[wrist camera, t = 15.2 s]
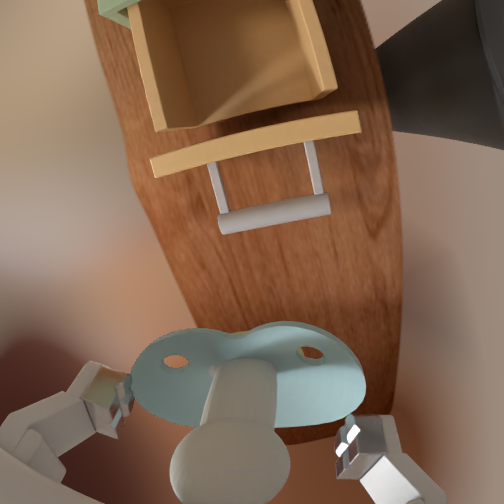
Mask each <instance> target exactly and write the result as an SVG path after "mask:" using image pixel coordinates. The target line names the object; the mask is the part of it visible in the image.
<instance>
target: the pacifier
mask: <svg viewBox="0 0 504 504" xmlns="http://www.w3.org/2000/svg"><path fill="white" fill-rule="evenodd" d="M302 346H310V347H314V348H316V349H318V350H320V351H321V352H322V353H323V354H324V356H323V357H322V358H320V359H312V358H308V357H304V354H303V351H302V349H301V348H300V347H302ZM171 355H180V356H183V357H185V358H186V359H187V360H188V362H189V363H188V365H186V366H184V367H180V368H172V367H169V366H167V365H166V364H165V363H164V361H163V359H164V358H166V357H168V356H171ZM131 376H132V381H133V382H132V384H131V386H130V388H131V390H132V391H133V396H134V397H135V398H136V400H137V401H138V403H139V404H140V405H141V406H142V407H143V408H144V409H145V410H147V411H149V412H151V413H152V414H153V415H155V416H157V417H160V418H162V419H164V420H167V421H169V422H172V423H174V424H181V425H185V426H191V427H197V428H196V429H194V430H192V431H191V432H190V433H189V434H187V435H186V437H185V438H184V439H183V440H182V441H181V442H180V443H179V445H178V446H177V448H176V450H175V452H174V454H173V456H172V459H171V464H170V480H171V484H172V487H173V490H174V492H175V494H176V495H177V497H178V499H179V500H180V501H181V502H182V503H183V504H266V503H267V502H269V501H270V500H271V499H272V498H273V497H274V496H275V495H276V494H278V493H279V491H280V490H281V488H282V487H283V486H284V484H285V482H286V480H287V478H288V476H289V471H290V458H289V454H288V451H287V448H286V446H285V445H284V443H283V441H282V440H281V438H280V437H279V436H278V435H277V434H276V433H275V432H274V428H275V427H294V426H306V425H316V424H321V423H327V422H333V421H335V420H338V419H342V418H343V417H345V416H347V415H348V414H350V413H351V412H352V411H353V410H355V409H356V408H357V407H358V406H359V405H360V403H361V402H362V401H363V398H364V396H365V390H366V383H365V378H364V374H363V369H362V367H361V365H360V363H359V360H358V359H357V357H356V356H355V355H354V353H353V352H352V351H351V350H350V348H349V347H348V346H347V345H346V344H345V343H343V342H342V341H341V340H340V339H338V338H337V337H336V336H334V335H332V334H331V333H329V332H327V331H325V330H323V329H321V328H318V327H316V326H312V325H309V324H305V323H302V322H293V321H279V322H272V323H267V324H264V325H261V326H258V327H255V328H254V329H252V330H250V331H242V332H236V333H231V334H229V333H226V332H222V331H219V330H213V329H205V328H192V329H184V330H178V331H174V332H171V333H169V334H167V335H164V336H162V337H160V338H158V339H156V340H155V341H153V342H152V343H151V344H150V345H149V346H148V347H146V348H145V350H144V351H143V352H142V353H141V354H140V356H139V357H138V358H137V360H136V362H135V364H134V366H133V367H132V370H131Z"/></svg>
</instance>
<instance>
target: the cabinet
mask: <svg viewBox="0 0 504 504" xmlns="http://www.w3.org/2000/svg"><path fill="white" fill-rule="evenodd" d="M139 1H141V0H97V2H98V9H99V14H100V15H102V16H104V17H107V18H109V19H111V20H113V21H115V22H117V23H119V24H121V25H123V26H125V27H127V28H129V29H131V25H130V20H129V15H128V10H127V7H128V6H130V5H132V4H134V3H136V2H139Z"/></svg>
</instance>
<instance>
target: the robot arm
mask: <svg viewBox="0 0 504 504" xmlns="http://www.w3.org/2000/svg"><path fill="white" fill-rule="evenodd" d="M132 382H133V381H132V376H131V375H130V374H127V373H124V372H121V371H119V370H116V369H113V368H110V367H107V366H105V365H102V364H99V363H96V362H94V361H91V360H90V361H89V362H87V363H86V364H85V365H84V367H83V368H82V370H81V371H80V373H79V374H78V376H77V377H76V379H75V380H74V381H73V383H72V384H71V386H70V387H69V389H68V390H67V392H66V393H65V392H63V391H62V392H60V393H57V394H55V395H53V396H51V397H48V398H46V399H44V400H41V401H39V402H37V403H34V404H32V405H30V406H27V407H25V408H23V409H20V410H18V411H15V412H13V413H10V414H9V415H8V417H7V418H6V420H5V421H4V422H3V424H2V425H1V427H0V504H104V503H101V502H99V501H96V500H94V499H92V498H90V497H87V496H85V495H83V494H81V493H79V492H76V491H74V490H72V489H70V488H68V487H66V486H64V485H62V484H60V483H61V481H62V479H63V477H64V475H65V473H66V470H65V467H64V466H63V465H62V463H61V462H60V460H59V459H58V458H57V457H58V456H60V455H62V454H63V453H65V452H66V451H68V450H70V449H71V448H73V447H74V446H76V445H77V444H79V443H81V442H82V441H84V440H85V439H87V438H88V437H90V436H91V435H93V434H94V433H95V431H96V432H99V433H102V434H105V435H107V436H110V437H113V438H116V439H118V438H119V436H120V434H121V432H122V430H123V428H124V425H125V423H124V419H123V418H125V417H126V416H128V415H130V413H131V411H132V408H133V404H134V400H135V397H134V396H133V391H132V390H131V388H130V386H131V384H132ZM335 453H336V454H337V455H338V456H339V457H340V458H339V459H338V460H337V462H336V475H337V479H360V482H361V483H362V485H363V486H364V487H365V489H366V490H367V492H368V493H369V495H370V496H371V498H372V499H373V500H374V502H375V503H376V504H448V502H447V498H446V494H445V492H444V491H443V490H442V489H441V488H440V487H439V486H438V485H437V484H436V483H435V482H434V481H433V480H432V479H431V478H430V477H429V476H428V475H427V474H426V473H425V472H424V471H423V470H422V469H421V468H420V467H419V466H418V465H417V464H416V463H415V462H414V461H413V460H412V459H411V458H410V457H409V456H408V455H407V454H405V453H402V450H401V445H400V442H399V437H398V433H397V430H396V426H395V421H394V418H393V416H392V415H374V414H350V415H348V416H347V418H346V419H345V425H344V426H342V427H340V429H339V430H338V432H337V435H336V439H335Z"/></svg>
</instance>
